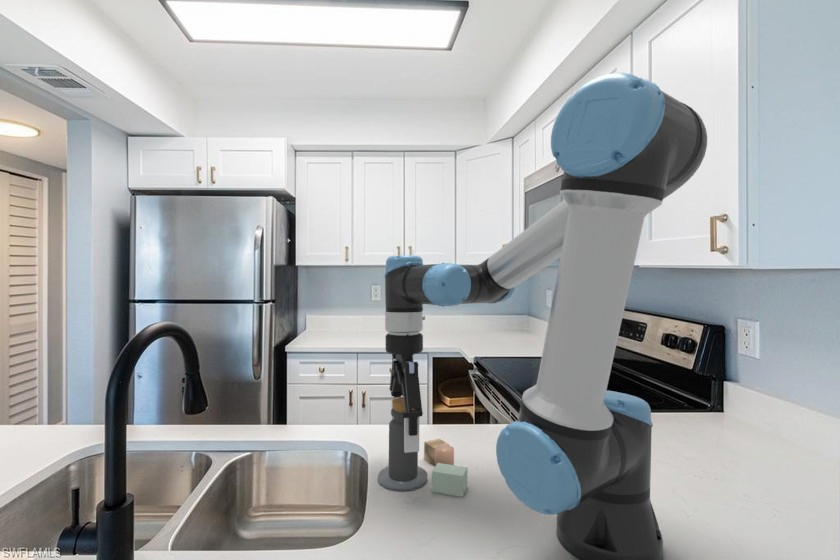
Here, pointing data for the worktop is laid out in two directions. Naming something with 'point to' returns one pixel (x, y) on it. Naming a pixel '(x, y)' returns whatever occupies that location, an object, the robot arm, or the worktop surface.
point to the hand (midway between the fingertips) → (404, 438)
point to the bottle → (400, 447)
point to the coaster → (399, 485)
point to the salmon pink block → (444, 454)
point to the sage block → (449, 479)
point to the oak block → (432, 449)
